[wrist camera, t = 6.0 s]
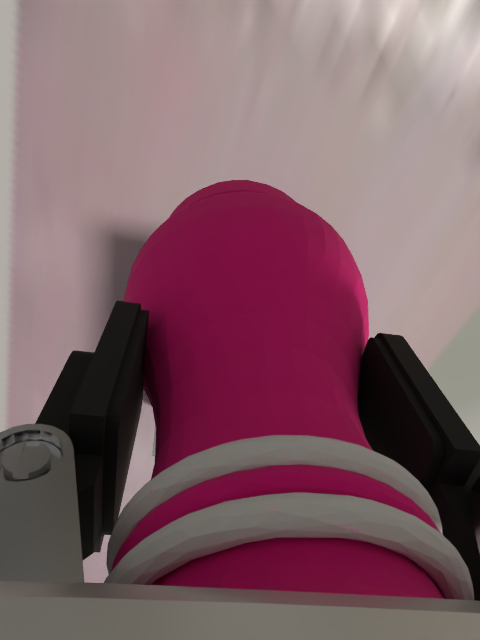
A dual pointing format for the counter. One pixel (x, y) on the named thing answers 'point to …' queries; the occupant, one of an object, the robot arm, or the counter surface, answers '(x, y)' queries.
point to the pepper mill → (267, 416)
